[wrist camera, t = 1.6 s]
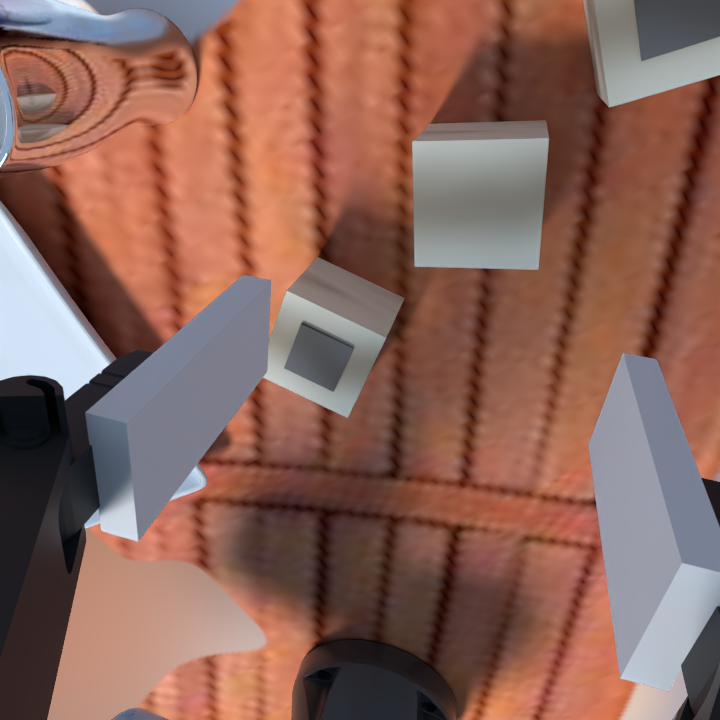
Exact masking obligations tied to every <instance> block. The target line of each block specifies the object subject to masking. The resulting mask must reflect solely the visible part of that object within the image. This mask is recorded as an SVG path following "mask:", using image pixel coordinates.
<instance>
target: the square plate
mask: <svg viewBox="0 0 720 720" xmlns="http://www.w3.org/2000/svg"><path fill="white" fill-rule="evenodd" d="M114 360H116V357H115V356H114V355H113V353H112V352H111V351H110V349H109V348H108V347H107V346H106V344H105V343H104V342H103V340H102V339H101V337H100V336H99V335H98V333H97V332H96V331H95V329H94V328H93V327H92V325H91V324H90V323H89V321H88V320H87V318H86V317H85V316H84V314H83V313H82V312H81V310H80V309H79V308H78V306H77V305H76V303H75V302H74V301H73V299H72V298H71V297H70V295H69V294H68V292H67V291H66V289H65V288H64V287H63V285H62V284H61V282H60V281H59V280H58V278H57V277H56V275H55V274H54V272H53V271H52V270H51V268H50V267H49V265H48V264H47V262H46V261H45V260H44V258H43V257H42V255H41V254H40V252H39V251H38V250H37V248H36V247H35V245H34V244H33V242H32V241H31V239H30V238H29V237H28V235H27V234H26V232H25V231H24V230H23V229H22V227H21V226H20V225H19V223H18V222H17V221H16V220H15V218H14V217H13V216H12V214H11V213H10V212H9V211H8V209H7V208H6V207H5V206H4V204H3V203H2V202H1V201H0V380H4V379H7V378H11V377H16V376H25V375H35V376H45V377H48V378H51V379H54V380H56V381H57V382H58V383H59V384H60V385H61V386H62V387H63V391H64V398H65V400H66V399H67V398H69V397H70V396H71V395H72V394H73V393H75V392H76V391H77V390H78V389H80V388H81V387H82V386H83V385H85V384H86V383H87V384H89V381H90V380H91V379H92V378H93V377H95V376H96V375H97V374H98V373H100V374H101V372H102V370H103V369H104V368H106V367H107V366H108V365H109V364H111V363H112V362H113V361H114ZM207 482H208V480H207V476H206V475H205V473H204V471H203V470H202V468H201V467H200V465H199V464H197V465H196V466H195V467H194V469H193V470H192V471H191V473H190V474H189V475H188V477H187V478H186V479H185V481H184V482H183V483H182V485H181V486H180V487H179V489H178V490H177V491H176V493H175V494H174V495H173V496H172V498H171V499H170V500H173V499H176V498H179V497H181V496H184V495H187V494H190V493H193V492H196V491H198V490H200V489H202V488H204V487H205V486H206V484H207ZM170 500H169V501H170ZM97 524H100V516H99V509H98V510H97V511H96V512H95V513H94V514H93V515H92V516H91V518H90V519H89V520H88V521H87V522H86V523H85V524H84V525H85V528H88V527H91V526H94V525H97Z"/></svg>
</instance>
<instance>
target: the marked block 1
mask: <svg viewBox="0 0 720 720" xmlns="http://www.w3.org/2000/svg"><path fill="white" fill-rule="evenodd" d="M404 299H405V298H403V297H401V296H399V295H397V294H395V293H393V292H390V291H388V290H386V289H384V288H382V287H380V286H378V285H376V284H374V283H371V282H369V281H367V280H365V279H363V278H361V277H359V276H357V275H355V274H352V273H350V272H348V271H346V270H344V269H342V268H340V267H338V266H336V265H333V264H331V263H329V262H327V261H325V260H323V259H321V258H319V257H318V258H317V259H316V260H315V261H314V262H313V263H312V264H311V265H310V266H309V267H308V268H307V269H306V271H305V272H304V273H303V274H302V275H301V276H300V277H299V278H298V279H297V280H296V281H295V282H294V283H293V285H292V286H291V287H290V288H289V289H288V290H287V292H286V294H285V297H284V300H283V303H282V306H281V308H280V311H279V314H278V317H277V320H276V322H275V325H274V328H273V331H272V334H271V336H270V339H269V345H268V369H267V373H266V374H265V375H264V377H263V378H265V379H267V380H269V381H271V382H274V383H276V384H278V385H280V386H282V387H284V388H286V389H288V390H290V391H292V392H294V393H296V394H299V395H301V396H303V397H305V398H307V399H309V400H311V401H313V402H315V403H317V404H319V405H322V406H324V407H326V408H328V409H330V410H332V411H334V412H336V413H338V414H340V415H342V416H344V417H347V418H348V416H349V414H350V412H351V410H352V408H353V406H354V404H355V402H356V400H357V398H358V396H359V394H360V391H361V389H362V387H363V385H364V383H365V381H366V379H367V377H368V375H369V373H370V371H371V369H372V366H373V364H374V362H375V360H376V358H377V356H378V354H379V352H380V350H381V348H382V346H383V344H384V341H385V339H386V337H387V335H388V333H389V331H390V329H391V327H392V324H393V322H394V320H395V318H396V316H397V314H398V312H399V310H400V307H401V305H402V303H403V301H404Z"/></svg>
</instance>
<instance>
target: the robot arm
mask: <svg viewBox="0 0 720 720" xmlns="http://www.w3.org/2000/svg"><path fill="white" fill-rule="evenodd" d="M270 297H271V280H266V279H261V278H256V277H251V276H246V275H243V276H241V277H240V278H239V279H238V280H237V281H236V282H235V283H233V284H232V285H231V286H230V287H229V288H228V289H227V290H225V291H224V292H223V293H222V294H221V295H220V296H218V297H217V298H216V299H215V300H214V301H213V302H212V303H210V304H209V305H208V306H207V307H206V308H205V309H204V310H202V311H201V312H200V313H199V314H198V315H197V316H196V317H194V318H193V319H192V320H191V321H190V322H189V323H187V324H186V325H185V326H184V327H183V328H182V329H181V330H179V331H178V332H177V333H176V334H175V335H174V336H173V337H171V338H170V339H169V340H168V341H167V342H166V343H164V344H163V345H162V346H161V347H160V348H159V349H158V350H156V351H155V352H154V353H151V352H146V351H142V350H137V351H134V352H132V353H129V354H127V355H124V356H122V357H119V358H117V359H116V360H114V361H113V362H112V363H111V364H109V365H108V366H107V367H106V368H104V369H103V370H102V372H101V374H100V373H98V374H97V375H96V376H95V377H93V378H92V379H91V380H90V381H89V384H87V383H86V384H85V385H83V386H82V387H81V388H80V389H78V390H77V391H76V392H75V393H73V394H72V395H71V396H70V397H69V398H67V399H66V400H65V398H64V391H63V387H62V386H61V385H60V384H59V383H58V382H57V381H56V380H54V379H51V378H48V377H45V376H35V375H25V376H16V377H11V378H7V379H4V380H0V720H47V717H48V713H49V708H50V704H51V699H52V695H53V690H54V685H55V681H56V676H57V672H58V667H59V662H60V658H61V654H62V649H63V645H64V640H65V635H66V631H67V626H68V622H69V617H70V613H71V608H72V603H73V599H74V594H75V589H76V585H77V581H78V575H79V572H80V567H81V562H82V558H83V553H84V549H85V544H86V532H85V525H84V524H85V523H86V522H87V521H88V520H89V519H90V518H91V516H92V515H93V514H94V513H95V512H96V511H97V510H98V509H99V516H100V524H101V531H103V532H106V533H110V534H113V535H117V536H120V537H124V538H127V539H131V540H135V541H139V540H140V539H141V537H142V536H143V535H144V533H145V532H146V531H147V529H148V528H149V527H150V525H151V524H152V523H153V521H154V520H155V519H156V518H157V516H158V515H159V514H160V512H161V511H162V510H163V508H164V507H165V506H166V504H167V503H168V502H169V500H170V499H171V498H172V496H173V495H174V494H175V493H176V491H177V490H178V489H179V487H180V486H181V485H182V483H183V482H184V481H185V479H186V478H187V477H188V475H189V474H190V473H191V471H192V470H193V469H194V467H195V466H196V465H197V464H198V462H199V461H200V460H201V458H202V457H203V456H204V454H205V453H206V452H207V450H208V449H209V448H210V446H211V445H212V444H213V442H214V441H215V440H216V439H217V437H218V436H219V435H220V433H221V432H222V431H223V429H224V428H225V427H226V425H227V424H228V423H229V421H230V420H231V419H232V417H233V416H234V415H235V414H236V412H237V411H238V410H239V408H240V407H241V406H242V404H243V403H244V402H245V400H246V399H247V398H248V396H249V395H250V394H251V392H252V391H253V390H254V388H255V387H256V386H257V385H258V383H259V382H260V381H261V379H262V378H263V377H264V375H265V374H266V373H267V369H268V345H269V321H270ZM588 447H589V454H590V461H591V468H592V476H593V483H594V490H595V498H596V505H597V512H598V520H599V527H600V534H601V541H602V549H603V556H604V563H605V571H606V578H607V585H608V593H609V600H610V607H611V615H612V622H613V629H614V636H615V644H616V651H617V658H618V666H619V673H620V678H622V679H625V680H629V681H632V682H636V683H639V684H643V685H646V686H650V687H653V688H657V689H661V690H664V691H669V689H670V688H671V686H672V685H673V683H674V681H675V680H676V678H677V677H678V674H679V673H680V672H681V670H682V672H683V676H684V680H685V685H686V689H687V693H688V696H687V698H686V700H685V701H684V703H683V704H682V706H681V708H680V709H679V710H678V712H677V713H676V715H675V717H674V718H673V720H720V482H717V481H713V480H708V479H704V478H701V476H700V473H699V471H698V468H697V465H696V463H695V460H694V457H693V455H692V452H691V449H690V447H689V444H688V441H687V439H686V436H685V434H684V431H683V428H682V426H681V423H680V420H679V418H678V415H677V412H676V410H675V407H674V404H673V402H672V399H671V396H670V394H669V391H668V388H667V386H666V383H665V380H664V378H663V375H662V372H661V370H660V367H659V364H658V362H657V359H652V358H647V357H642V356H637V355H632V354H627V353H623V354H622V356H621V359H620V362H619V364H618V367H617V370H616V372H615V375H614V378H613V380H612V383H611V386H610V388H609V391H608V394H607V396H606V399H605V402H604V404H603V407H602V410H601V412H600V415H599V418H598V420H597V423H596V426H595V428H594V431H593V434H592V436H591V439H590V442H589V444H588ZM456 715H457V706H456V701H455V698H454V696H453V693H452V691H451V690H450V688H449V686H448V685H447V684H446V682H445V681H444V680H443V679H442V678H441V676H440V675H439V674H438V673H437V672H435V671H434V670H433V669H432V668H431V667H429V666H428V665H427V664H425V663H424V662H422V661H421V660H419V659H418V658H416V657H414V656H412V655H410V654H408V653H406V652H404V651H402V650H399V649H397V648H394V647H391V646H388V645H384V644H381V643H376V642H371V641H363V640H341V641H334V642H330V643H327V644H324V645H321V646H319V647H317V648H315V649H314V650H312V651H311V652H310V653H309V654H308V655H307V656H306V657H305V658H304V660H303V661H302V664H301V666H300V669H299V672H298V674H297V677H296V680H295V683H294V687H293V692H292V717H291V720H456ZM112 720H169V719H166V718H164V717H161V716H159V715H157V714H154V713H152V712H150V711H148V710H145V709H141V708H132V709H128V710H126V711H123V712H121V713H120V714H118V715H117V716H115V717H114V718H113V719H112Z"/></svg>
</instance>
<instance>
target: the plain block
mask: <svg viewBox="0 0 720 720" xmlns="http://www.w3.org/2000/svg"><path fill="white" fill-rule="evenodd" d="M548 146H549V135H548V129H547V123H546V120H538V121H505V122H472V123H438V124H429V125H428V126H427V127H426V128H425V129H424V130H423V131H422V132H421V133H420V134H419V135H418V136H417V137H416V138H415V139H414V140H413V141H412V150H413V208H414V266H415V267H449V268H489V269H529V270H538V269H539V257H540V244H541V232H542V220H543V207H544V195H545V183H546V171H547V158H548Z"/></svg>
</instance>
